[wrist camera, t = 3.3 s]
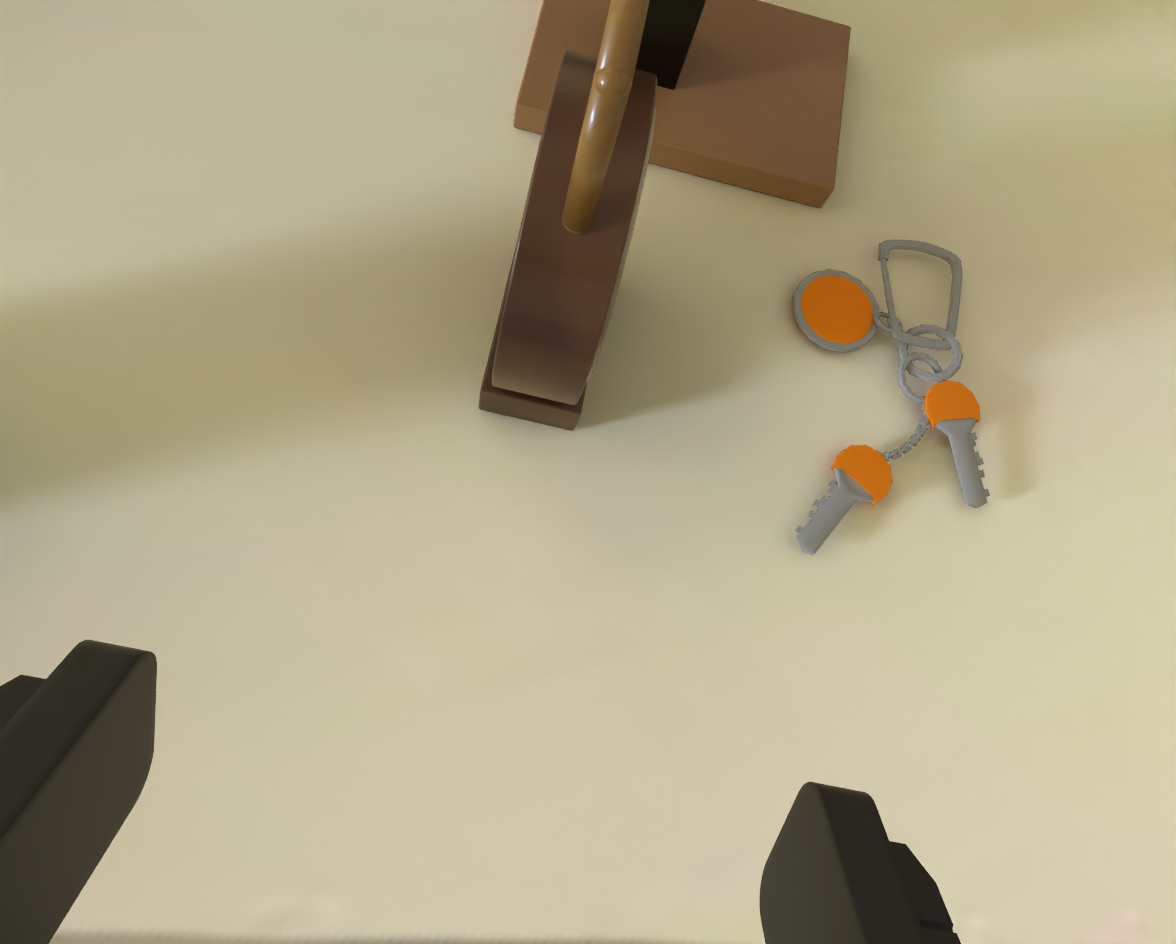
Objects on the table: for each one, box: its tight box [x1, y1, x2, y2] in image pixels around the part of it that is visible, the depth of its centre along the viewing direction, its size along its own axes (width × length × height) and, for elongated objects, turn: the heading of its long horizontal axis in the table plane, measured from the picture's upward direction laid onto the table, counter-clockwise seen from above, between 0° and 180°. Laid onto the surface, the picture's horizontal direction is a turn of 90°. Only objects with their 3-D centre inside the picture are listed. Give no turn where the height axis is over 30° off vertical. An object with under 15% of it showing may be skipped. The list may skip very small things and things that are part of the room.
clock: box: [479, 0, 657, 431], centre depth 23 cm, size 3×9×15 cm, turn 169°
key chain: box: [793, 240, 990, 555], centre depth 31 cm, size 13×7×1 cm, turn 172°
